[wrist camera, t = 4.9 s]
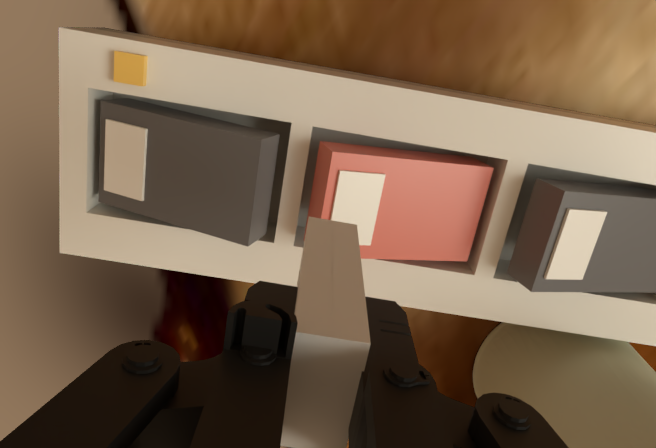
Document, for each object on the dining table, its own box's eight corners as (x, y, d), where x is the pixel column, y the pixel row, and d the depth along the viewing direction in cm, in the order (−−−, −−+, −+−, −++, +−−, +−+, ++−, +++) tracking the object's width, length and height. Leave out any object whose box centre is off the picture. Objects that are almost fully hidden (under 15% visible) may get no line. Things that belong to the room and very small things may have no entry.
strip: (99, 220, 29) (55, 256, 24) (104, 27, 26) (53, 27, 21) (758, 325, 31) (833, 377, 26) (844, 159, 27) (947, 185, 23)
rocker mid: (303, 240, 24) (315, 258, 22) (319, 141, 23) (333, 152, 21) (448, 245, 27) (468, 262, 25) (472, 157, 25) (495, 168, 23)
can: (655, 324, 31) (839, 494, 20) (584, 445, 34) (708, 651, 23) (508, 282, 30) (613, 434, 19) (449, 410, 33) (508, 606, 22)
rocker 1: (124, 192, 26) (96, 202, 24) (128, 98, 24) (98, 100, 23) (266, 234, 24) (246, 247, 22) (279, 134, 22) (259, 140, 21)
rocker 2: (506, 272, 25) (533, 293, 23) (536, 177, 23) (567, 192, 21) (629, 275, 27) (662, 294, 25) (664, 189, 26) (701, 203, 24)
